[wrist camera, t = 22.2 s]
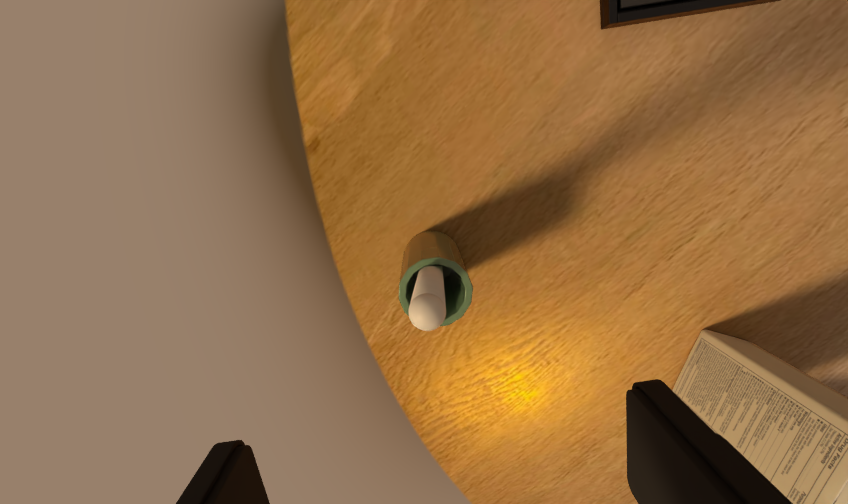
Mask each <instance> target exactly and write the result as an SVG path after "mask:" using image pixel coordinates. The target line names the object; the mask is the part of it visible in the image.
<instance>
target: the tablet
mask: <svg viewBox="0 0 848 504" xmlns="http://www.w3.org/2000/svg"><path fill="white" fill-rule="evenodd" d="M775 1H780V0H672V1H666V2H660V3H654V4H648V5H642V6H635V7H629V8H623V9H620V8H619V0H600V14H601V29H607V28H614V27H620V26H626V25H632V24H638V23H645V22H651V21H657V20H663V19H669V18H676V17H682V16H688V15H694V14H700V13H706V12H713V11H719V10H725V9H731V8H737V7H744V6H750V5H756V4H762V3H768V2H775Z"/></svg>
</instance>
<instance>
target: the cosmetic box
mask: <svg viewBox="0 0 848 504" xmlns="http://www.w3.org/2000/svg"><path fill="white" fill-rule="evenodd" d="M672 391H673V392H674V393H675V394H676V395H677V396H678V397H679V398H680V399H681V400H682V401H683V402H684V403H685V404H686V405H687V406H688V407H689V408H690V409H691V410H692V411H693V412H694V413H695V414H696V415H698V416H699V417H700V418H701V419H702V420H703V421H704V422H705V423H706V424H707V425H708V426H709V427H710V428H711V429H712V430H713V431H714V432H715V433H717V434H719V435H721V436H722V437H724V438H725V439H726V440H727V441H728V442H729V443H730V444H731V445H732V446H733V447H735V448H736V449H737V450H738V451H739V452H740V453H741V454H742V455H743V456H744V457H745V458H746V459H747V460H748V461H749V462H750V463H751V464H752V465H753V466H754V467H755V468H756V469H757V470H758V471H759V472H761V473H762V474H763V475H764V476H765V477H766V478H767V479H768V480H769V481H770V482H771V483H772V484H773V485H774V486H775V487H776V488H777V489H778V490H779V491H780V492H781V493H782V494H783V495H784V496H785V497H787V498H788V499H789V500H790V501H791V502H792V503H793V504H848V398H847V397H846V396H844V395H842V394H840V393H839V392H837V391H835V390H833V389H832V388H830V387H828V386H827V385H825V384H823V383H821V382H819V381H818V380H816V379H814V378H812V377H811V376H809V375H807V374H806V373H804V372H802V371H800V370H799V369H797V368H795V367H793V366H792V365H790V364H788V363H786V362H785V361H783V360H781V359H780V358H778V357H776V356H774V355H773V354H771V353H769V352H767V351H766V350H764V349H762V348H761V347H759V346H757V345H755V344H754V343H752V342H749V341H745V340H742V339H739V338H736V337H732V336H728V335H725V334H721V333H717V332H714V331H710V330H706V329H704V330H702V331H701V333H700V335H699V337H698V339H697V340H696V342H695V344H694V346H693V348H692V350H691V352H690V354H689V356H688V358H687V360H686V363H685V365H684V367H683V369H682V371H681V372H680V375H679V377H678V379H677V381H676V383H675V386H674V388H673V390H672Z"/></svg>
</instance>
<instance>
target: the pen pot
mask: <svg viewBox="0 0 848 504" xmlns="http://www.w3.org/2000/svg"><path fill="white" fill-rule="evenodd" d="M436 264H439V265H442V269H443V280H444V292H445V304H446V317H445V319H444V321H443V323H442V324H441V325H440V326H446V325H450V324H451V323H453V322H454V321H456V320H458V319H459V318H461V317H462V316H463V315H464V313H465V312H466V310H467V309H468V307H469V306H470V304H471V300H472V291H473V286H472V284H471V281H470V278H469V276H468V273H467V271H466V268H465V265H464V263H463V260H462V257H461V255H460V252H459V249H458V247H457V245H456V243H455V242H454V241H453V240H452V239H451V238H450V237H449V236H448V235H446V234H444V233H442V232H438V231H426V232H422V233H420V234H418V235H416V236H415V237H413V238H412V239H411V240H410V242H409V243H408V244H407V246H406V248H405V251H404V255H403V262H402V269H401V276H400V283H399V301H400V303H401V305H402V307H403V310H404V312H405V313H406V314H407V315H408V316H409V312H408V311H409V305H410V302H411V298H412V294H413V291H414V287H415V283H416V280H417V276H418V272H419V270H420V269H421V268H423V267H424V266H429V265H436Z"/></svg>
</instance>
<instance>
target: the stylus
mask: <svg viewBox="0 0 848 504" xmlns="http://www.w3.org/2000/svg"><path fill="white" fill-rule="evenodd" d="M408 312H409V318H410V320H411V322H412V324H413V325H414V326H415V327H417V328H418V329H421V330H424V331H431V330H434V329H436V328H438V327H439V326H440V325H441V324H442V323H443V321H444V319H445V317H446V304H445V292H444V280H443V269H442V265H439V264H436V265H429V266H424V267H423V268H421V269H420V270H419V272H418V276H417V280H416V283H415V287H414V291H413V294H412V298H411V302H410V305H409V311H408Z"/></svg>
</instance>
